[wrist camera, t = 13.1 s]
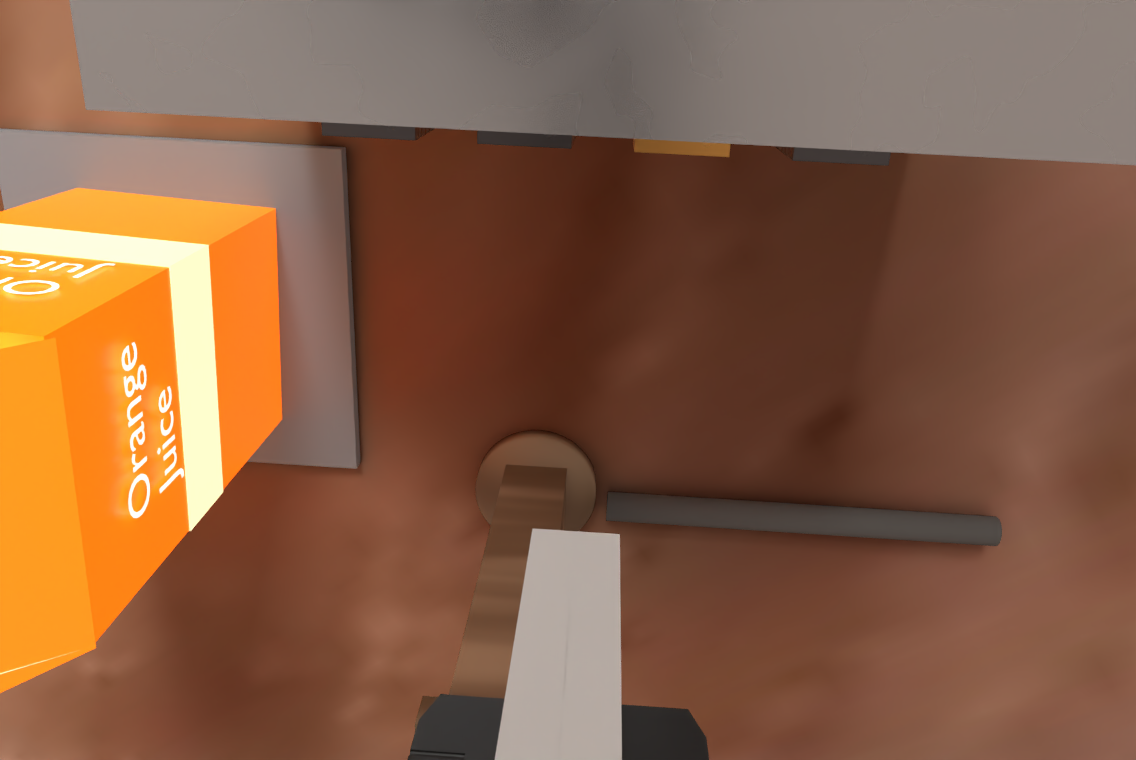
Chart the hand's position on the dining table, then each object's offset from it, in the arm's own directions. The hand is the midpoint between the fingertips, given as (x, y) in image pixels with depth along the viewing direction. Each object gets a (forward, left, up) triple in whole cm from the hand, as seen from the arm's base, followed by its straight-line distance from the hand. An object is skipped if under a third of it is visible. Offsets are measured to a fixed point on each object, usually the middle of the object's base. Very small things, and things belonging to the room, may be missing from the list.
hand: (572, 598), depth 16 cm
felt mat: (+2, -16, -20) cm, 26 cm away
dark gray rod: (+9, +9, -20) cm, 24 cm away
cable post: (+9, -2, -20) cm, 22 cm away
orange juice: (+2, -16, -20) cm, 26 cm away
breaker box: (-10, 0, -20) cm, 23 cm away
